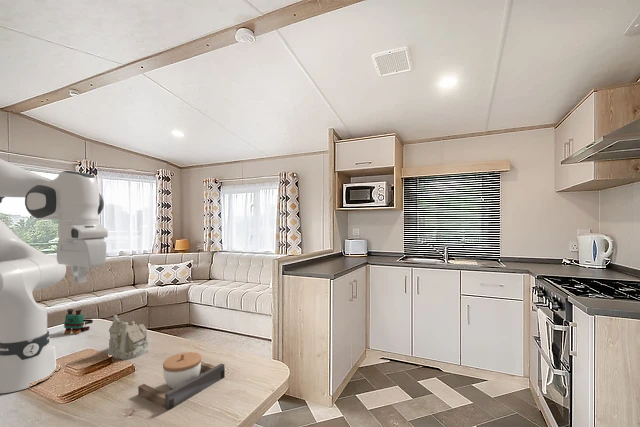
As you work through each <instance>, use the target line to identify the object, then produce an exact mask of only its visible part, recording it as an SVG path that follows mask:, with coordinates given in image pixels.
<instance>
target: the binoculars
mask: <svg viewBox="0 0 640 427" xmlns="http://www.w3.org/2000/svg"><path fill="white" fill-rule="evenodd" d="M73 312H74V309H72V308H68V309H67V314H65V317H64V324H63V327H64V329H65V330H64V332H63V333H64V334H65V335H66V334H71V333H72V335H79V334H80V333H81V331H86V330H90V328H91V327H90V325H89V324H93V322H94V320H93V319H86V318H85V319H84V314H83V313H82V309H77V310H75V313H73ZM86 325H89V326H86Z"/></svg>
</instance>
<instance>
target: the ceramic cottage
mask: <svg viewBox="0 0 640 427" xmlns="http://www.w3.org/2000/svg"><path fill="white" fill-rule="evenodd" d="M135 323H136V322H135V320H132V321H131V322H130V324H129V322H127V321H125V322H124V321H123V320H121V321H120V318H118V314H115V315H113V321H112V324H111V326H110V327H109V329H108V332H109V336H110V338H109V340H108V349H107V354H109V355H112V356H113V357H116V358H119V359H123V360H122V361H127V360H128V361H129V360H134V359H135V358H138V357H141V356H143V355H144V354H145V353H147V352H148V350H149V348H150V345H151V342H150V340H149V339H147V336H148V334H147V331H148V329H147V327H146V326H145V325H144V324H143V323H141V324H137V323H136V324H135ZM119 359H118V360H119Z"/></svg>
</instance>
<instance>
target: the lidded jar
mask: <svg viewBox="0 0 640 427" xmlns="http://www.w3.org/2000/svg"><path fill="white" fill-rule="evenodd" d="M201 361H202V355H201V354H200V353H199V352H193V351H187V352H181V353H177V354H174V355H172V356H170V357H167V359H165V360H164V361H163V363H162V368H163V370H162V371H163V378H164V381H165V383H166V384H167V386H168V387H169V388H171V390H173V389H174V388H176V387H178V386H180V385H182V384H184V383H186V382H188V381H189V380H191V379H193V378H195V377H197V376H199V375H201V374H200V373H201V372H200V370H201Z"/></svg>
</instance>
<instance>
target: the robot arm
mask: <svg viewBox="0 0 640 427" xmlns="http://www.w3.org/2000/svg"><path fill="white" fill-rule="evenodd" d="M102 196H103V195H102V194H101V193H100V189H99V183H98V180H97V178H96V177H95V176H94V175H93V174H90V173H85V172H80V171H73V170H72V171H71V170H63V171H61V172H60V173H59V174H58V176H57V177H56V178H54V179H50V178H47V177H45V176H42V175H41V174H40V175H39V174H37V173H34V172H32V171H30V170H27V169H25V168H22V167H21V166H18V165H16V164H13V163H11V162H10V161H6V160H4V159H2V158H0V204H1V203H2V202H3V199H5V198H24V206H25V208H26V211H27V212H28V214H30V215H31V216H32V217H34V218H35V219H38V220H39V219H40V220H51V221H52V220H53V221H54V220H57V238H58V240H57V245H56V248H57V249H56V256H53V255H50V254H46V253H45V252H43V251H40V250H39V249H37V248H35V247H34V246H32V245H30V244H28V243H27V242H25V241H24V240H23V239H21V238H20V237H19V236H18V235H16V233H14V231H13V230H12V229H11V228H10V227H9V226H8V225H6V223H5V222H4V221H3V220H2V219H1V218H0V394H7V393H14V392H18V391H22V390H25V389H29V388H30V387H29V386H30V383H31V382H34V381H38V380H40V379H43V378H45V377H47V376H49V375H50V374H51V373H52V372H53V371H54V370H55V369H56V365H58V366H59V367H60V365H61V364H57V359H56V348H55V346H53V344H50V331H49V330H48V309H47V307H46V306H45V305H43V304H41V303H37V301H36V300H35V299H34V294H33V292H35V291H38V290H43V289H46V288H49V287H52V286H53V285H55V284H57V283H59V282H60V281H63V279H64V278H65V276H66V273H67V266H70V269H71V272H72V275H73V282H74V283H77V284H84V283H86V282H87V276H88V273H89V270H90V269H94V268H95V269H96V268H103V267H104V266H105V264H106V261H107V240H106V238H108V236H109V230H108V229H107V228H106V227H104V226H102V224H101V223H100V221H101V220H100V214H101V213H102V211H103V209H104V206H105V202H104V198H103V197H102Z"/></svg>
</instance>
